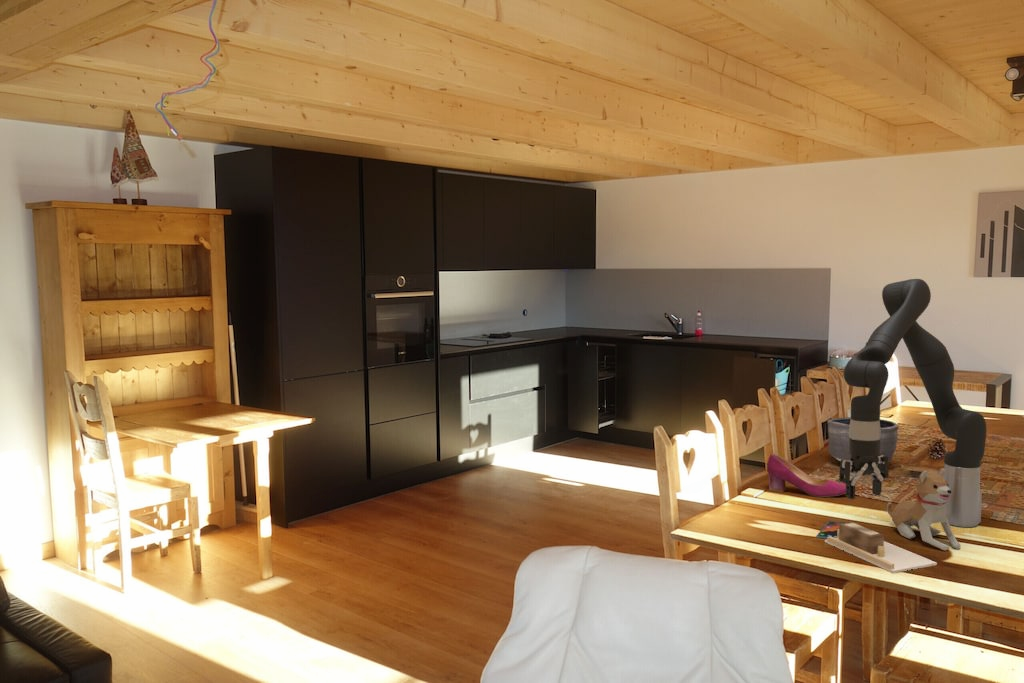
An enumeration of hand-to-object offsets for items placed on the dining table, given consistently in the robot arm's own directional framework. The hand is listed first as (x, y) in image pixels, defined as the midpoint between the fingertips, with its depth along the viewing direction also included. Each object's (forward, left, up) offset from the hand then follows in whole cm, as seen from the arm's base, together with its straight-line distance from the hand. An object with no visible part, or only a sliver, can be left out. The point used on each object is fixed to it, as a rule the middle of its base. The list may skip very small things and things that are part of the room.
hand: (863, 496), depth 212 cm
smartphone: (-4, -13, -15) cm, 20 cm away
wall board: (-2, +4, -14) cm, 15 cm away
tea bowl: (-65, -69, -15) cm, 96 cm away
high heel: (-23, -48, -15) cm, 55 cm away
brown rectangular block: (0, 0, -14) cm, 14 cm away
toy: (-22, -2, -15) cm, 26 cm away
